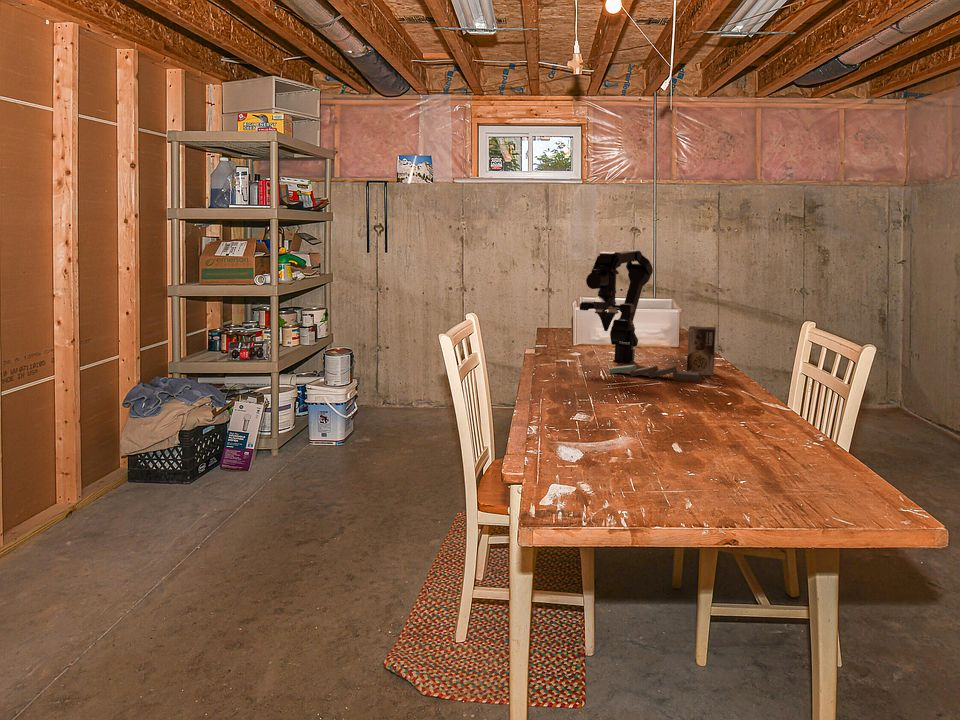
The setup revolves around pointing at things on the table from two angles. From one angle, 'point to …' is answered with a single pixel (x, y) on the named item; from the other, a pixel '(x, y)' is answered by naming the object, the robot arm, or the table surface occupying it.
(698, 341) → the coffee box
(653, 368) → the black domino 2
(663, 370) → the black domino
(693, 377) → the black domino
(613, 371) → the teal domino
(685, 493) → the table surface
